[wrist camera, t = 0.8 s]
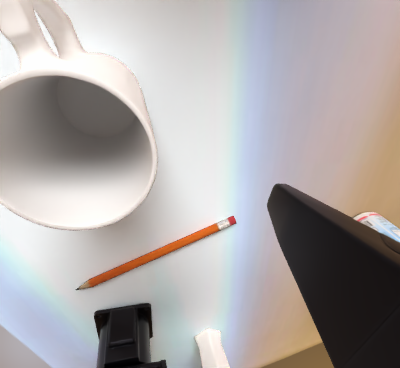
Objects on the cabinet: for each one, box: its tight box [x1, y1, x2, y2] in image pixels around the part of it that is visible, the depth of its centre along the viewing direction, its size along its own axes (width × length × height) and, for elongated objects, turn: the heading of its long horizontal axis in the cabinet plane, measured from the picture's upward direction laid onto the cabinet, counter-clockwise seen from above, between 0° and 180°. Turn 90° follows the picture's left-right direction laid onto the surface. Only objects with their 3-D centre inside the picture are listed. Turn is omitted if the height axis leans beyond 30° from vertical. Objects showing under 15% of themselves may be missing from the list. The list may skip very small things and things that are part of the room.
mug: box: [0, 0, 158, 230], centre depth 15 cm, size 10×7×12 cm, turn 12°
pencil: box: [76, 216, 236, 290], centre depth 29 cm, size 1×19×1 cm, turn 111°
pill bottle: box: [353, 212, 400, 242], centre depth 30 cm, size 6×6×11 cm
